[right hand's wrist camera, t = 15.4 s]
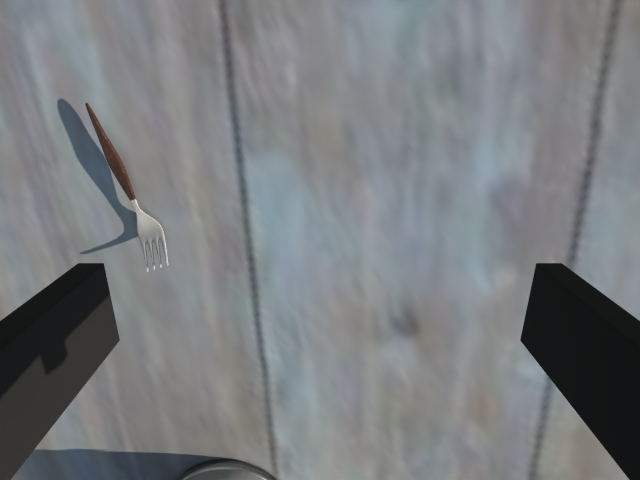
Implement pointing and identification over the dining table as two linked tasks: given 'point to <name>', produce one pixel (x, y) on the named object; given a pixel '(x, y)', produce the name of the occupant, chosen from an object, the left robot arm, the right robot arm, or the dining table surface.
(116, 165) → the fork
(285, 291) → the dining table surface
